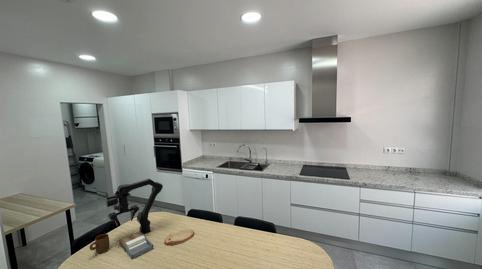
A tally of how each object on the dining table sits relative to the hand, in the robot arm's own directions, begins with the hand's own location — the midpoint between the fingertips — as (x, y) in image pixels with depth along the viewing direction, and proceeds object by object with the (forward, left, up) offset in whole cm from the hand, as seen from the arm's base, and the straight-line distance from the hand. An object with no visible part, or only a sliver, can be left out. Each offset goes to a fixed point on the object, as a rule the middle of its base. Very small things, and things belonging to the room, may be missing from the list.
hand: (124, 223), depth 142 cm
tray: (-2, +21, -12) cm, 24 cm away
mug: (+16, +3, -12) cm, 21 cm away
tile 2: (-2, +17, -12) cm, 21 cm away
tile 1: (-2, +15, -9) cm, 18 cm away
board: (-2, +9, -12) cm, 15 cm away
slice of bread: (-27, +29, -13) cm, 42 cm away
